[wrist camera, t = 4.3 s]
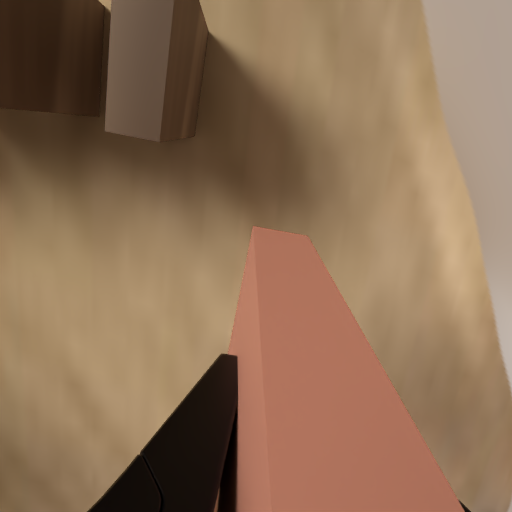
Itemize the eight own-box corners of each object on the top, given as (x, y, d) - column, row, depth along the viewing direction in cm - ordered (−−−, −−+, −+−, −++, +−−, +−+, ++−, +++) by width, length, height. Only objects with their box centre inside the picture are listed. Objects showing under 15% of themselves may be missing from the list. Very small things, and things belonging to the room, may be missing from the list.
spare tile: (224, 370, 12) (165, 1019, 3) (252, 225, 10) (288, 773, 2) (271, 377, 12) (337, 1017, 3) (308, 235, 10) (622, 789, 2)
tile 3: (164, 130, 19) (104, 131, 10) (176, 23, 17) (116, -78, 9) (194, 136, 19) (159, 142, 11) (208, 31, 17) (180, -61, 9)
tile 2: (67, 110, 18) (-80, 93, 10) (69, -3, 17) (-104, -137, 8) (98, 116, 18) (-19, 105, 10) (104, 6, 17) (-31, -117, 8)
